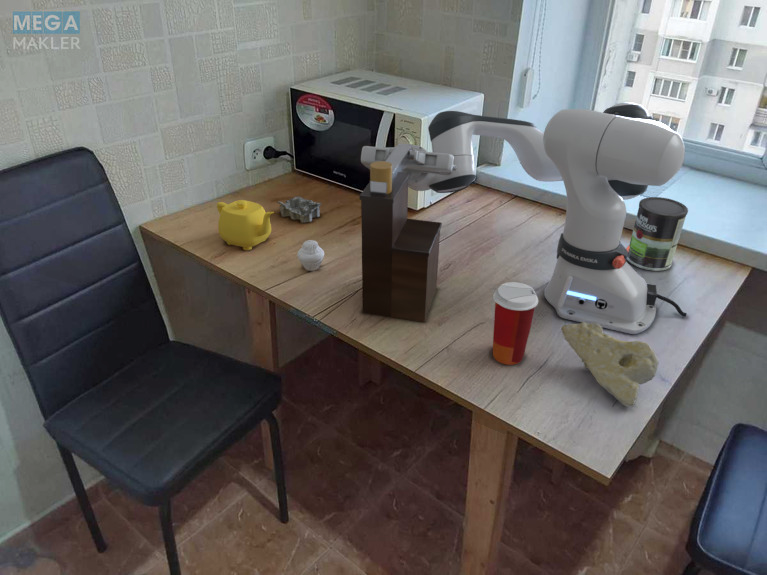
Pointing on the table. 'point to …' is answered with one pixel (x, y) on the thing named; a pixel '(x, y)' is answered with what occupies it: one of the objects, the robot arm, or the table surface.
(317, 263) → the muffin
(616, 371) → the cheese
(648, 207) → the coffee can
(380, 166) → the crank handle
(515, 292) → the paper cup
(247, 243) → the teapot
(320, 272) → the table surface
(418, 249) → the step stand
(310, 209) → the egg carton
